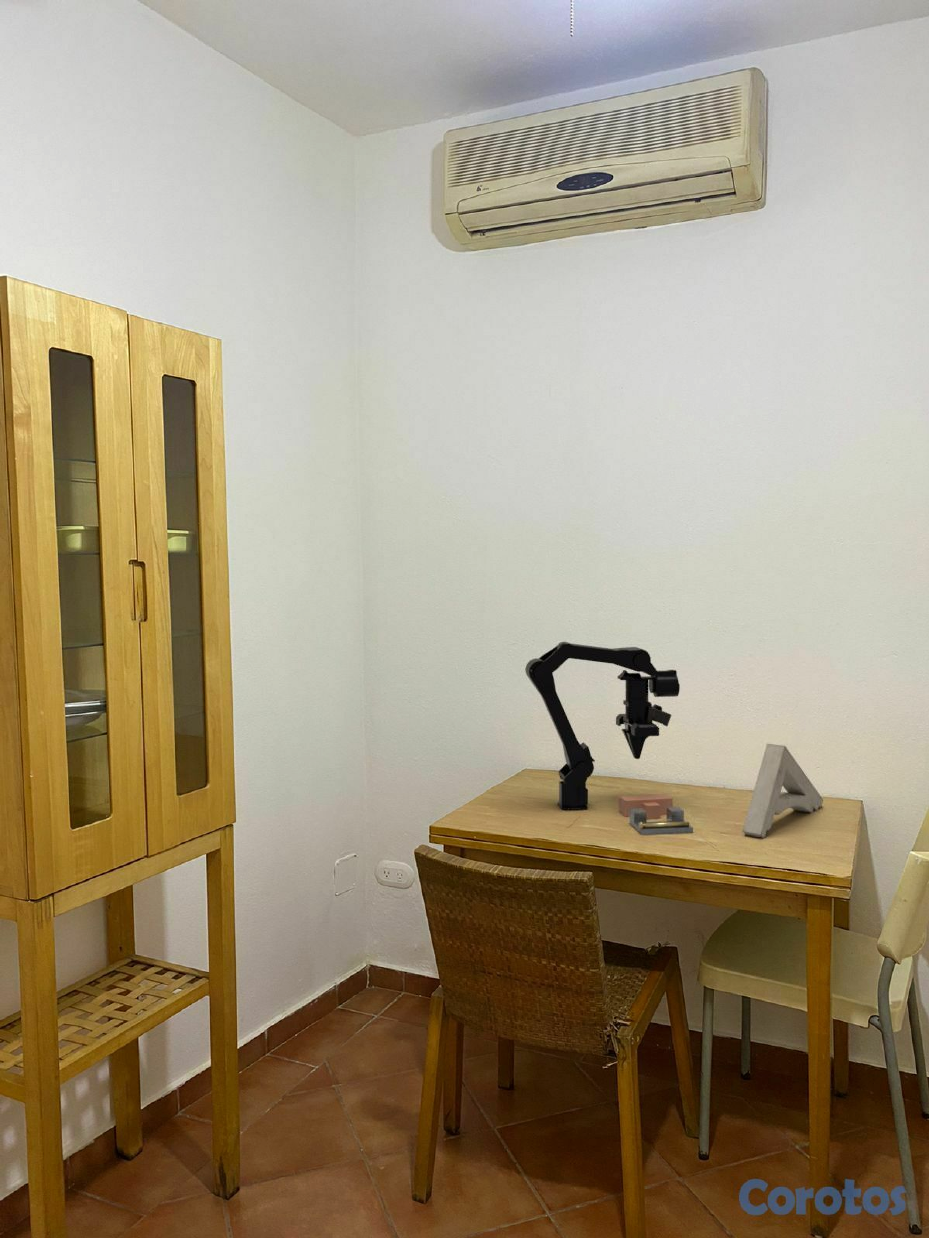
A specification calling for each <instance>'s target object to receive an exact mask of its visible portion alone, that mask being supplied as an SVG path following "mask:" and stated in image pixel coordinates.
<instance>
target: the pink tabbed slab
mask: <svg viewBox="0 0 929 1238" xmlns="http://www.w3.org/2000/svg"><path fill="white" fill-rule="evenodd" d="M673 804H674V801H673V797H672V796H669V795H668V794H665V793H660V794H659V793H658V794H657V793H655V794H640V795H639V794H638V795H622V796H618V812H619V814H621V815H622V814H623V816H624V817H625V818H630V809H639V808H642V809H643V810H645V811H646V812H647V820H652V819H653V820H654V819H656V820H657V819H661V816H667V807H674V805H673Z"/></svg>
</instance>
